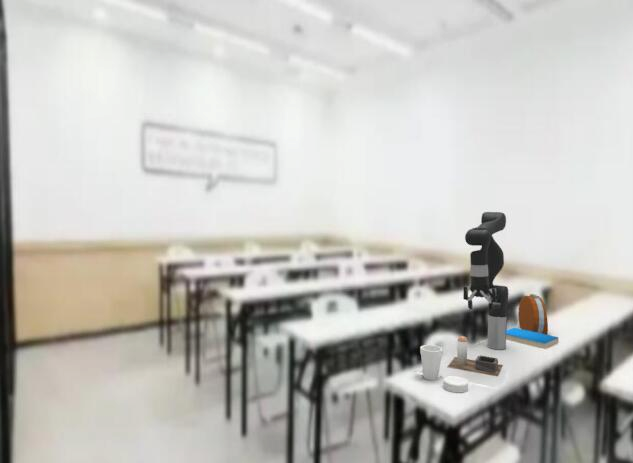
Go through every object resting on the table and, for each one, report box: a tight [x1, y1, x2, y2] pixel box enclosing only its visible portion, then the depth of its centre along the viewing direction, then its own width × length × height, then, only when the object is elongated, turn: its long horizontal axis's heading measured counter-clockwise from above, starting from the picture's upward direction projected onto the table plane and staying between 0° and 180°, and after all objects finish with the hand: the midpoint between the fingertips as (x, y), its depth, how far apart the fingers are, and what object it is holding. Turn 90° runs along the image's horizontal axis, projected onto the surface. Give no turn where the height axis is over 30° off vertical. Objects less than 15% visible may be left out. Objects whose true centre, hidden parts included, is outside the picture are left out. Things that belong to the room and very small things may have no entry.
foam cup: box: [419, 344, 443, 381], centre depth 197 cm, size 10×9×13 cm
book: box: [506, 327, 559, 350], centre depth 252 cm, size 17×4×25 cm
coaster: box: [442, 375, 469, 394], centre depth 186 cm, size 10×10×4 cm
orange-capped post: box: [456, 335, 468, 365], centre depth 211 cm, size 4×4×13 cm
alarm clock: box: [517, 293, 549, 335], centre depth 270 cm, size 22×10×23 cm, turn 179°
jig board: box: [447, 354, 504, 377], centre depth 208 cm, size 16×22×5 cm
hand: (480, 310), depth 201 cm, fingers open, 8 cm apart
